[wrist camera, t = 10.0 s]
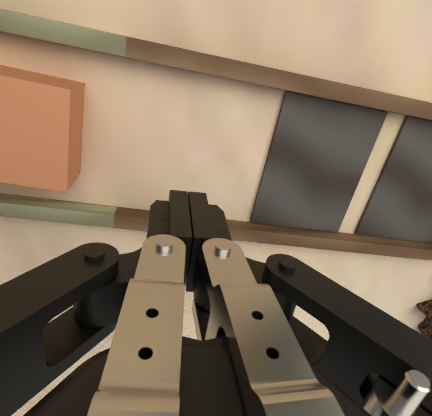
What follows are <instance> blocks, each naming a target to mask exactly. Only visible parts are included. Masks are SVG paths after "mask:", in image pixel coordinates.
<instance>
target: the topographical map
mask: <svg viewBox="0 0 432 416" xmlns="http://www.w3.org/2000/svg"><path fill="white" fill-rule="evenodd" d="M416 306H417V307H418V308H419V309H420V310H421V311H422V312H423V313H424V314H425V315H426V318H425V320H424V321H423V322H421V323H420V324H419V325H418V327H419V330H420V332H421V333H422V334H423V335H424V336H425V337H426V338H428V339H430V340H431V341H432V300H427V301H424V302H421V303H418V304H417V305H416Z"/></svg>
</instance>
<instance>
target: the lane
mask: <svg viewBox="0 0 432 416" xmlns="http://www.w3.org/2000/svg"><path fill="white" fill-rule="evenodd" d="M0 31H2V32H7V33H12V34H16V35H21V36H26V37H31V38H36V39H41V40H46V41H50V42H55V43H60V44H65V45H70V46H75V47H80V48H85V49H89V50H94V51H99V52H104V53H109V54H114V55H119V56H123V57H128V58H133V59H138V60H143V61H148V62H153V63H158V64H162V65H167V66H172V67H177V68H182V69H187V70H192V71H196V72H201V73H206V74H211V75H216V76H221V77H226V78H231V79H235V80H240V81H245V82H250V83H255V84H260V85H265V86H269V87H274V88H279V89H284V90H289V91H294V92H299V93H304V94H308V95H313V96H318V97H323V98H328V99H333V100H338V101H342V102H347V103H352V104H357V105H362V106H367V107H372V108H377V109H381V110H386V111H391V112H396V113H401V114H406V115H411V116H415V117H420V118H425V119H430V120H432V103H429V102H425V101H420V100H415V99H411V98H406V97H402V96H397V95H392V94H388V93H383V92H379V91H374V90H370V89H365V88H360V87H356V86H351V85H347V84H342V83H337V82H333V81H328V80H324V79H319V78H314V77H310V76H305V75H301V74H296V73H291V72H287V71H282V70H278V69H273V68H269V67H264V66H259V65H255V64H250V63H246V62H241V61H236V60H232V59H227V58H223V57H218V56H213V55H209V54H204V53H200V52H195V51H190V50H186V49H181V48H177V47H172V46H168V45H163V44H158V43H154V42H149V41H145V40H140V39H135V38H131V37H126V36H122V35H117V34H112V33H108V32H103V31H99V30H94V29H89V28H85V27H80V26H76V25H71V24H67V23H62V22H57V21H53V20H48V19H44V18H39V17H34V16H30V15H25V14H21V13H16V12H11V11H7V10H2V9H0ZM387 113H388V112H384V111H379V110H374V109H369V108H364V107H359V106H354V105H349V104H345V103H340V102H335V101H330V100H325V99H320V98H315V97H310V96H305V95H301V94H296V93H291V92H286V91H285V95H284V98H283V102H282V106H281V109H280V113H279V117H278V120H277V124H276V127H275V131H274V135H273V138H272V142H271V146H270V149H269V153H268V157H267V160H266V164H265V167H264V171H263V175H262V178H261V182H260V186H259V189H258V193H257V196H256V200H255V204H254V207H253V211H252V215H251V218H250V222H243V221H234V220H226V219H225V220H226V222H227V225H228V228H229V232H230V235H231V238H232V240H238V241H248V242H257V243H267V244H277V245H287V246H297V247H306V248H316V249H326V250H336V251H345V252H355V253H365V254H375V255H384V256H394V257H404V258H414V259H424V260H432V121H428V120H423V119H418V118H413V117H408V116H406V117H405V120H404V122H403V124H402V126H401V129H400V131H399V133H398V135H397V138H396V140H395V142H394V144H393V147H392V149H391V151H390V153H389V156H388V158H387V160H386V162H385V165H384V167H383V169H382V171H381V174H380V176H379V178H378V181H377V183H376V185H375V187H374V190H373V192H372V194H371V196H370V199H369V201H368V203H367V205H366V208H365V210H364V212H363V214H362V217H361V219H360V221H359V223H358V226H357V228H356V230H355V232H354V233H355V234H347V233H339V232H338V231H339V228H340V226H341V223H342V221H343V219H344V216H345V214H346V211H347V209H348V207H349V204H350V202H351V199H352V197H353V195H354V192H355V190H356V187H357V185H358V183H359V180H360V178H361V175H362V173H363V171H364V168H365V166H366V163H367V161H368V159H369V156H370V154H371V151H372V149H373V147H374V144H375V142H376V140H377V137H378V135H379V132H380V130H381V128H382V125H383V123H384V120H385V118H386V116H387ZM149 215H150V211H147V210H139V209H130V208H121V207H112V206H104V205H95V204H86V203H78V202H69V201H60V200H52V199H43V198H34V197H25V196H17V195H8V194H0V216H3V217H13V218H23V219H33V220H43V221H52V222H62V223H72V224H82V225H91V226H101V227H111V228H121V229H130V230H140V231H148V223H149ZM252 222H255V223H252ZM260 223H264V224H260ZM269 224H273V225H269ZM278 225H281V226H278ZM286 226H290V227H286ZM295 227H299V228H295ZM304 228H307V229H304ZM313 229H316V230H313ZM321 230H325V231H321ZM330 231H333V232H330ZM356 234H359V235H356ZM365 235H368V236H365ZM373 236H377V237H373ZM382 237H385V238H382ZM391 238H394V239H391ZM400 239H403V240H400ZM408 240H412V241H408ZM417 241H420V242H417ZM426 242H429V243H426Z"/></svg>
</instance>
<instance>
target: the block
mask: <svg viewBox="0 0 432 416" xmlns="http://www.w3.org/2000/svg"><path fill="white" fill-rule="evenodd" d="M84 86H85V83H81V82H77V81H72V80H67V79H63V78H58V77H54V76H49V75H44V74H40V73H35V72H31V71H26V70H22V69H17V68H12V67H8V66H3V65H0V183H7V184H14V185H21V186H28V187H34V188H41V189H48V190H55V191H62V192H67V191H68V190H69V188H70V187H71V186H72V184H73V183H74V181H75V180H76V178H77V177H78V175H79V174H80V164H81V144H82V125H83V106H84Z"/></svg>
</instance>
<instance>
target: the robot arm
mask: <svg viewBox="0 0 432 416" xmlns="http://www.w3.org/2000/svg"><path fill="white" fill-rule="evenodd" d="M225 219H226V218H225V215H224V212H223V211H222V210H221V209H220V208H219V207H218V206H217V205H208V201H207V196H206V193H199V192H187V191H176V190H170V194H169V201H160V200H156V201H155V202H154V203H153V204H152V205H151V206H150V215H149V223H148V232H147V239H146V240H145V241H144V243H143V246H142V248H140V249H139V250H137V251H134V252H131V253H127V254H120V255H119V253H118V251H117V249H116V248H114V247H113V246H111V245H109V244H105V243H88V244H84V245H81V246H79V247H77V248H75V249H73V250H71V251H69V252H67V253H65V254H63V255H61V256H59V257H56V258H54V259H52V260H50V261H48V262H46V263H44V264H42V265H40V266H38V267H36V268H34V269H32V270H30V271H28V272H26V273H24V274H22V275H20V276H18V277H16V278H14V279H12V280H10V281H8V282H6V283H4V284H2V285H0V416H11V415H12V414H13V413H15V412H16V411H17V410H18V409H19V408H21V407H22V406H23V405H24V404H25V403H27V402H28V401H29V400H30V399H32V398H33V397H34V396H35V395H36V394H38V393H39V392H40V391H41V390H42V389H44V388H45V387H46V386H47V385H49V384H50V383H51V382H52V381H53V380H55V379H56V378H57V377H58V376H59V375H61V374H62V373H63V372H64V371H66V370H67V369H68V368H69V367H70V366H72V365H73V364H74V363H75V362H76V361H78V360H79V359H80V358H81V357H83V356H84V355H85V354H86V353H87V352H89V351H90V350H91V349H92V348H93V347H95V346H96V345H97V344H98V343H99V342H101V341H102V340H103V339H104V338H106V337H107V336H108V335H109V334H110V333H111V332H113V330H114V329H115V328H116V329H115V332H114V336H113V339H112V343H111V346H110V348H108V349H106V350H104V351H102V352H99V353H98V354H96V355H94V356H92V357H91V358H89V359H88V360H86V361H85V362H83V363H82V364H81V365H80V366H78V367H77V368H76V369H75V370H74V371H73V372H72V373H71V374H69V375H68V376H67V377H66V378H65V379H64V380H63V381H62V382H60V383H59V384H58V385H57V386H56V387H55V388H54V389H53V390H51V391H50V392H49V393H48V394H47V395H46V396H45V397H44V398H43V399H41V400H40V401H39V402H38V403H37V404H36V405H35V406H34V407H32V408H31V409H30V410H29V411H28V412H27V413H26V414H25V415H23V416H432V341H431V340H430V339H428V338H426V337H425V336H423V335H421V334H420V333H418V332H416V331H415V330H413V329H412V328H410V327H408V326H407V325H405V324H403V323H402V322H400V321H398V320H397V319H395V318H393V317H392V316H390V315H389V314H387V313H385V312H384V311H382V310H380V309H379V308H377V307H375V306H374V305H372V304H370V303H369V302H367V301H365V300H364V299H362V298H361V297H359V296H357V295H356V294H354V293H352V292H351V291H349V290H347V289H346V288H344V287H342V286H341V285H339V284H338V283H336V282H334V281H333V280H331V279H329V278H328V277H326V276H324V275H323V274H321V273H319V272H318V271H316V270H314V269H313V268H311V267H310V266H308V265H306V264H305V263H303V262H301V261H300V260H298V259H296V258H294V257H292V256H289V255H285V254H274V255H271V256H269V257H268V258H267V260H266V263H262V262H258V261H255V260H251V259H249V258H246V257H245V255H244V253H243V251H242V249H241V247H240V246H239V245H238V244H236V243H235V242H233V241H232V238H231V235H230V232H229V228H228V225H227V222H226V220H225ZM185 283H186V291H189V292H194V299H193V305H192V312H193V317H194V323H195V329H196V334H197V340H196V339H191V338H187V337H183V336H182V329H183V310H184V292H185ZM72 305H73V307H72V308H71V309H69V310H68V311H66V312H65V313H63V314H62V315H60V316H59V317H57V318H55V319H54V320H52V321H51V322H49V321H50V320H51V319H52V318H54V317H55V316H57V315H58V314H60V313H61V312H63V311H64V310H66V309H67V308H69V307H71V306H72ZM296 305H297V306H299V307H300V308H302V309H303V310H305V311H306V312H307V313H309V314H310V315H312V316H313V317H314V318H316V319H317V320H319V321H320V322H322V323H323V324H324V325H325V326H326V328H327V329H328V331H329V340H328V341H327V340H325V339H324V338H322V337H321V336H320V335H318V334H317V333H316V332H314V331H313V330H311V329H310V328H309V327H307V326H306V325H305V324H303V323H302V322H301V321H299V320H298V319H296V318H295V317H294V316H293V313H294V310H295V307H296ZM48 322H49V323H48Z"/></svg>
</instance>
